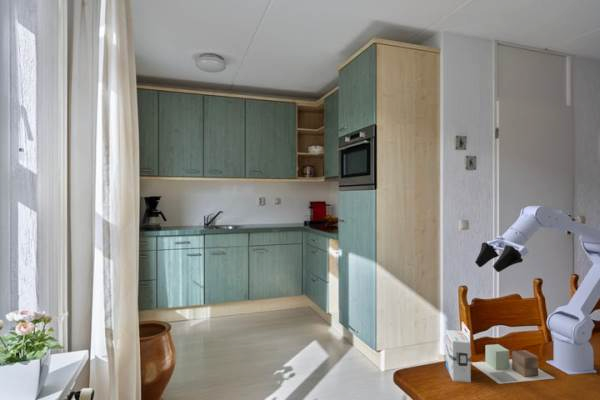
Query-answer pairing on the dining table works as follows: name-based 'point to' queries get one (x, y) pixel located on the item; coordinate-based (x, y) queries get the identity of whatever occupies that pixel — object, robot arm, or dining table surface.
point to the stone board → (508, 373)
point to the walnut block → (525, 363)
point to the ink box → (459, 354)
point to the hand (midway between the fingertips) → (486, 267)
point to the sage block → (497, 356)
